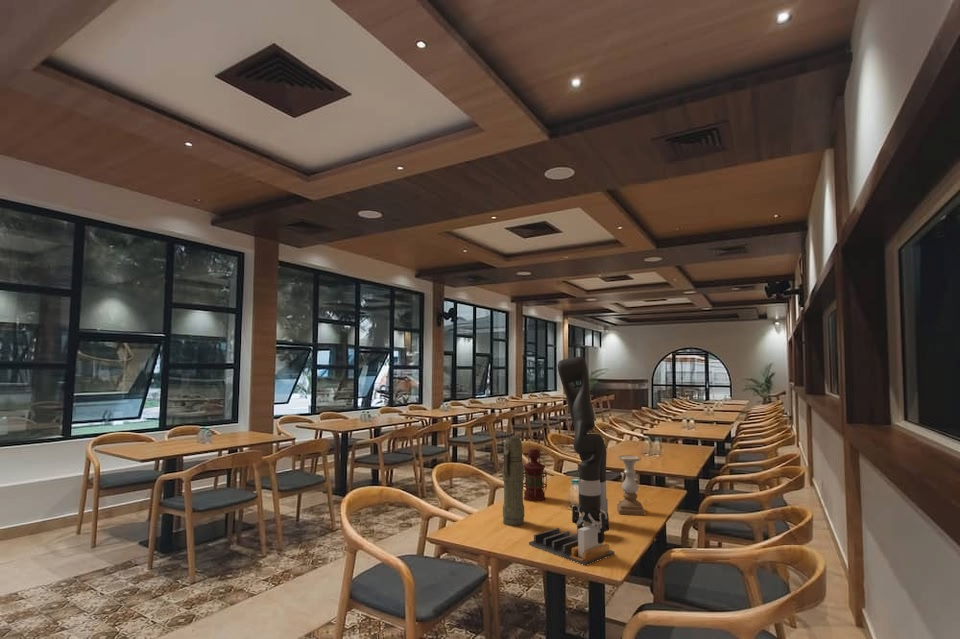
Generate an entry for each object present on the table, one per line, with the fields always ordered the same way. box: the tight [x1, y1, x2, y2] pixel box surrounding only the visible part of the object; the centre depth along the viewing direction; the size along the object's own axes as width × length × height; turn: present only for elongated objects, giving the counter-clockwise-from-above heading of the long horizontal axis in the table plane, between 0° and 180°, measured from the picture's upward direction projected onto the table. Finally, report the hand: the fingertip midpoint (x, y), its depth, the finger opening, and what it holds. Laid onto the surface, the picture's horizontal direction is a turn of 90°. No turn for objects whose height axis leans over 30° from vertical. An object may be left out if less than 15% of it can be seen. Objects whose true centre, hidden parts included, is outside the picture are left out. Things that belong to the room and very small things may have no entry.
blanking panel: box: [578, 524, 603, 558], centre depth 185 cm, size 10×2×9 cm, turn 130°
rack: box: [528, 527, 616, 566], centre depth 191 cm, size 16×26×4 cm, turn 40°
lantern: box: [523, 435, 548, 503], centre depth 262 cm, size 12×12×30 cm
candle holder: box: [616, 454, 646, 516], centre depth 239 cm, size 11×11×24 cm
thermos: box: [502, 436, 525, 527], centre depth 224 cm, size 9×12×35 cm
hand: (590, 539), depth 185 cm, fingers open, 8 cm apart
